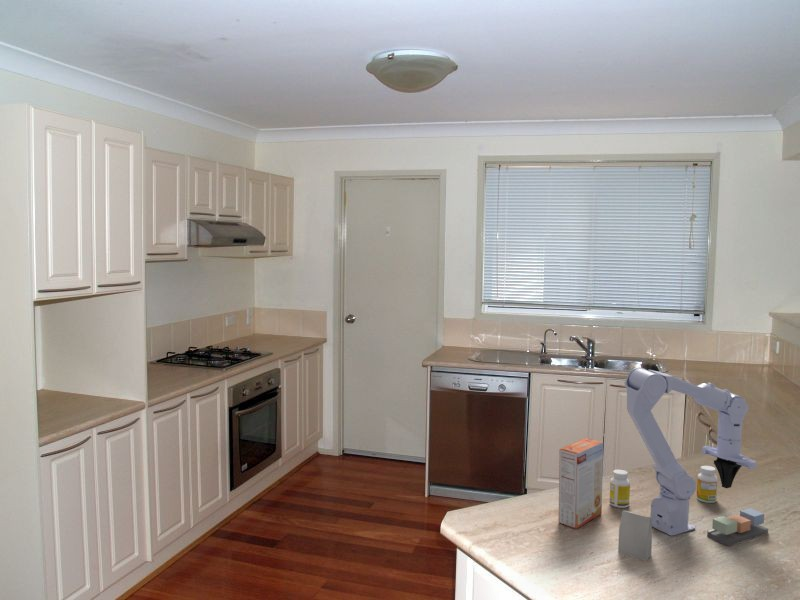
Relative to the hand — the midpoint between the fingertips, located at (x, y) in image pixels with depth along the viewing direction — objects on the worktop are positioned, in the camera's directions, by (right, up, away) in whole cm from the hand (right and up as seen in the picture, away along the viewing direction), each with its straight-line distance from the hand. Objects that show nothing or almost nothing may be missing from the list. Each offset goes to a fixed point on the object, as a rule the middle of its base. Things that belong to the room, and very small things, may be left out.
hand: (726, 487), depth 173 cm
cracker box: (-39, -10, +3) cm, 40 cm away
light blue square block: (+5, -8, -3) cm, 10 cm away
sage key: (-5, -9, -8) cm, 13 cm away
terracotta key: (0, -9, -6) cm, 11 cm away
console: (0, -11, -6) cm, 12 cm away
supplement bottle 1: (-24, -9, +13) cm, 29 cm away
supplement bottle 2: (+3, -9, +17) cm, 19 cm away
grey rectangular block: (-31, -12, -16) cm, 37 cm away
